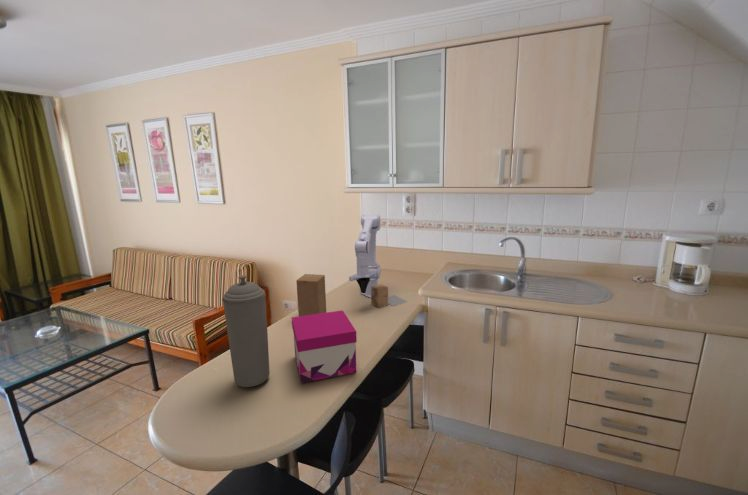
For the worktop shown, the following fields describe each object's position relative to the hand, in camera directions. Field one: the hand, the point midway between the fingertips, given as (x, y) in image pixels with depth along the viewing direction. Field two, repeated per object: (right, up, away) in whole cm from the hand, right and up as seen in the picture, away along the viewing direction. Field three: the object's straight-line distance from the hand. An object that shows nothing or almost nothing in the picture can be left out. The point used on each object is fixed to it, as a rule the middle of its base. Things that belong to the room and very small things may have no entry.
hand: (363, 292), depth 165 cm
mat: (+16, -6, +13) cm, 22 cm away
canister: (-35, -21, -53) cm, 67 cm away
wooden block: (-23, -11, -7) cm, 27 cm away
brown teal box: (+8, -8, +8) cm, 14 cm away
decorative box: (-12, -19, -45) cm, 50 cm away
